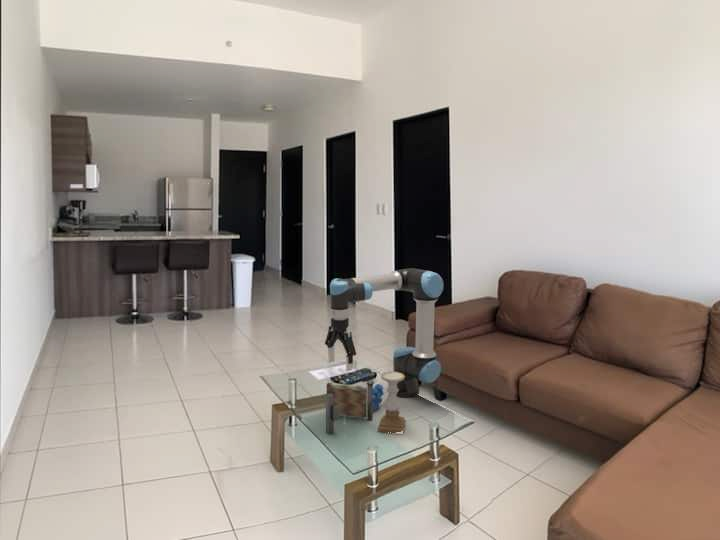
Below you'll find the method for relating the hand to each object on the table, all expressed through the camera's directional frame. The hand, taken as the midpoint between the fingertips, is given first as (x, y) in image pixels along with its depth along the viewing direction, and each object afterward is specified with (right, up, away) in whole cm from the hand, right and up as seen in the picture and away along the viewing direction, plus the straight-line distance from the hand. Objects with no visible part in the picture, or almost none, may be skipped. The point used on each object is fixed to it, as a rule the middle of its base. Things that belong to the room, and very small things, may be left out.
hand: (340, 366), depth 225 cm
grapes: (+15, -25, +24) cm, 38 cm away
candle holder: (+22, -28, +4) cm, 36 cm away
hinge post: (+13, -26, +12) cm, 32 cm away
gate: (+2, -25, +14) cm, 29 cm away
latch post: (-3, -28, -1) cm, 29 cm away
